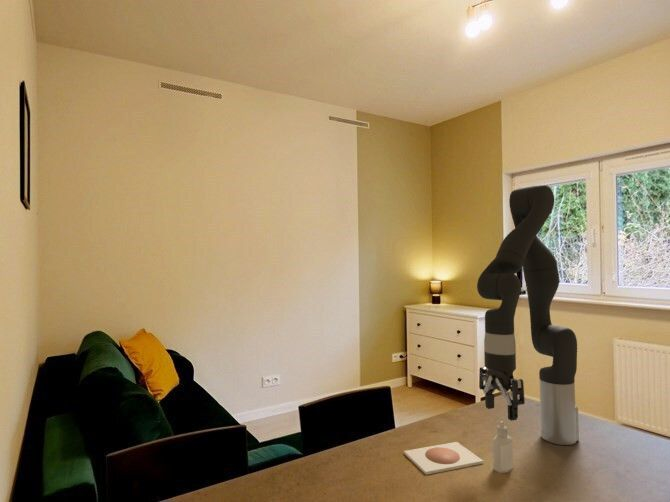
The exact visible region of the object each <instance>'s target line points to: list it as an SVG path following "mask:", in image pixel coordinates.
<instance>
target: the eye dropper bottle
mask: <svg viewBox="0 0 670 502" xmlns="http://www.w3.org/2000/svg"><path fill="white" fill-rule="evenodd" d="M496 429H497V430H496V433H497V435H495V436H494V438H493V440H492V464H493V465H492V468H493V470H494V471H495V472H497V473H500V474H504V473H509V472H511V471H512V470H513V468H514V452H513V450H514V449H513V448H514V447H513V445H514V444H513V438H512V437H511V436H510V435H508V427H507V426H506V425H505V424H504V421H502V420H501V421H499V425H496Z"/></svg>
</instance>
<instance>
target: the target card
mask: <svg viewBox="0 0 670 502" xmlns="http://www.w3.org/2000/svg"><path fill="white" fill-rule="evenodd" d="M403 453H404V455H405V456H406V457H407V458H408V459H409V460H410V461H411V462H412V463H413V464H414V465H415V466H416V467H418V469H419V470H420V471H421V472H422V473H424V475H426V476H427V475H432V474H436V473H442V472H446V471H447V472H448V471H452V470H457V469H461V468H467V467H472V466H478V465H483V464H484V460H483V459H482V458H480V457H478V456H477V455H476V454H475V453H473V451H470V450H469V449H468V448H466V447H465V446H464V445H462V444H461V443H459V442H458V441H453V442H448V443H442V444H437V445H431V446H425V447H419V448H414V449H407V450H403Z"/></svg>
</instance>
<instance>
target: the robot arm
mask: <svg viewBox="0 0 670 502" xmlns="http://www.w3.org/2000/svg"><path fill="white" fill-rule="evenodd" d="M508 203H509V210H510V211H509V212H510V214H511V217H512V218H511V219H512V222H513V226H514V228H513V229H512V230H511V231H510V232H509V233H508V234H507V235H506V236H505V237H504V239H502V241H501V244H500V246H499V248H498V251H497V252H496V255H495V257H494V259H493V260H492V261H490V262H489V264H488V265H487V267H486V268H484V270H482V272H481V273H480V275H479V277H478V280H477V282H476V283H477V284H476V289H477V293H478V294H479V297H481V298H482V299H485V300H492V301H493V300H494V301H501V304H500V306H499V307H498V308H491V309H488V310H486V311H485V313H484V338H483V342H484V343H483V344H484V345H483V346H484V348H483V349H484V350H483V351H484V353H483V354H484V355H483V358H484V359H483V360H484V366H482V367H479V375H478V376H479V378H478V379H479V380H478V381H479V382H478V383H479V384H478V387H479V389H480V390H482V391H483V394H484V405H485V408H486V409H488V410H491V409H492V410H493V409H494V408H495V394H494V393H495V391H496V390H497V391H498V392H501V395H502V396H503V397H504V398H505V399H506V402H507V419H508V420H509V421H511V422H513V421H516V420H518V418H519V415H518V414H519V411H518V407H519V406H520V405H525V401H526V400H525V388H524V380H523V378H519V379H517V378H515V376H514V371H515V370H516V369H517V356H516V355H517V354H516V351H517V350H516V348H517V347H516V338H515V315H516V310H517V306H518V303H519V300H520V296H521V293H522V283H521V280H520V278H519V277H518V276H517V273H519V272H520V271H521V270H522V271H523V278H524V282H525V288H526V293H527V299H528V300H527V301H528V307H529V319H530V320H529V321H530V336H531V337H530V338H531V343H532V346H533V348H534V350H535V351H536V352H537V353H538V354H539V355H540V354H541V355H543V356H547V357H552V364H551V365H550V366H545V367H542V368H540V369H539V373H538V374H539V376H538V377H539V378H538V379H539V402H540V403H539V407H540V409H539V411H540V436H541V438H542V439H543V440H545V441H546V442H549V443H551V444H556V445H559V446H560V445H562V446H570V445H574V444H576V443H577V441H580V428H579V427H580V425H579V408H578V406H576V389H575V387H576V386H575V381H576V379H575V377H576V375H577V370H578V367H577V366H578V339H577V336H576V333H575V332H574V331H573V330H572V329H571V328H569V327H564V326H558V325H554V324H552V320H551V312H550V311H551V304H552V301H553V300H554V297H555V295H556V293H557V291H558V289H559V287H560V274H559V269H558V264H557V259H556V257H555V256H554V254H553V253H552V252H551V250H550V249H549V248H548V247H547V246H546V245H545V244H544V242H543V241H541V239H540V238H539V236H538V234H539V232H540V231H541V229H542V228H543V227H544V225H545V223H546V221H547V220H548V219H549V217H550V215H551V213H552V211H553V209H554V207H555V195H554V192H553V189H552V188H551V187H550V186H549V185H547V184H544V183H543V184H536V185H531V186H526V187H521V188H517V189H516V188H515V189H514V190H512V191H511V192H510V195H509V202H508Z"/></svg>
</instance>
